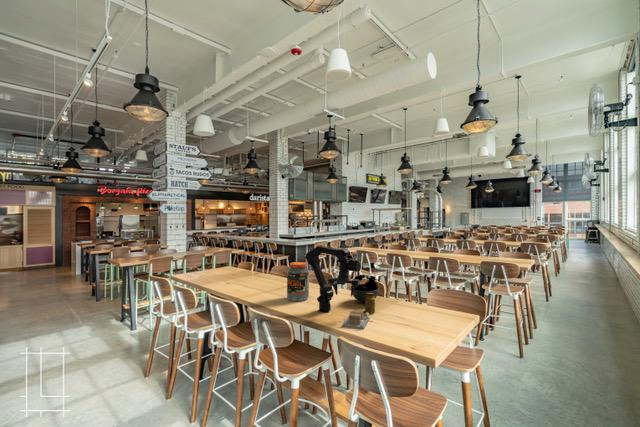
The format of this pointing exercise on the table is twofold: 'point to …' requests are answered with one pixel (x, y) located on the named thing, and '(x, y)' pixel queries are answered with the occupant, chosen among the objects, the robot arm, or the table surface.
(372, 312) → the condiment
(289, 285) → the supplement tub
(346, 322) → the chassis
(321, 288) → the robot arm
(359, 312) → the block
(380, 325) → the table surface
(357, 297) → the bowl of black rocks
